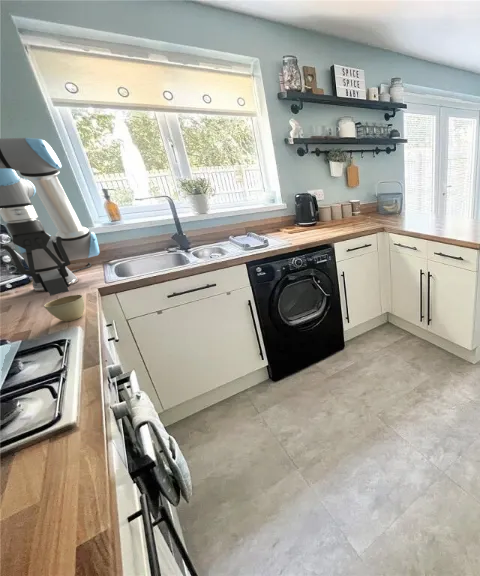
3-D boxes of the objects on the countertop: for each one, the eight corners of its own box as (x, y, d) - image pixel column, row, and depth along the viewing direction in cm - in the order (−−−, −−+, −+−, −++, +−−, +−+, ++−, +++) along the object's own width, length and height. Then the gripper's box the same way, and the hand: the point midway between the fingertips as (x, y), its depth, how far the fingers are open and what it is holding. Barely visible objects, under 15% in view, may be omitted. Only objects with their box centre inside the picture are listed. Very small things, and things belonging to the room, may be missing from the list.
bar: (47, 287, 109) (40, 274, 107) (64, 283, 112) (57, 270, 111) (50, 295, 101) (42, 281, 99) (69, 291, 104) (62, 277, 102)
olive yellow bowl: (53, 319, 111) (44, 301, 108) (90, 309, 117) (81, 292, 115) (53, 328, 104) (42, 309, 102) (91, 317, 111) (83, 299, 108)
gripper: (-22, 227, 89) (20, 300, 98) (61, 216, 101) (92, 282, 110) (-20, 225, 94) (20, 295, 103) (59, 215, 106) (88, 278, 115)
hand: (57, 288), depth 106 cm, fingers closed on bar, 4 cm apart
